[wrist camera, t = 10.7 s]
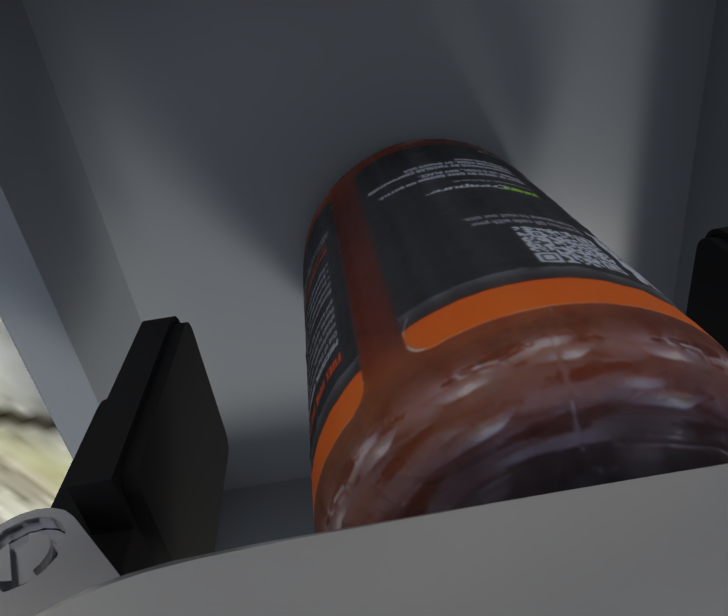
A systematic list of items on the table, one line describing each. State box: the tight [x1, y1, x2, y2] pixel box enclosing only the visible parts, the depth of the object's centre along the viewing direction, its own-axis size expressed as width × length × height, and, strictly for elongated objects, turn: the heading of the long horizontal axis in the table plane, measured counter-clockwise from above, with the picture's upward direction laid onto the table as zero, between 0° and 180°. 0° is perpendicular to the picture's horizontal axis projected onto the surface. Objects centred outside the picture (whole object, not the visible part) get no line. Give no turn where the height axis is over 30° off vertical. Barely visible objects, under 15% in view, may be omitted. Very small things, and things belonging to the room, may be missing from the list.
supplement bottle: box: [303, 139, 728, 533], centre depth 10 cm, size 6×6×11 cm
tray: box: [0, 0, 728, 552], centre depth 14 cm, size 16×16×4 cm
